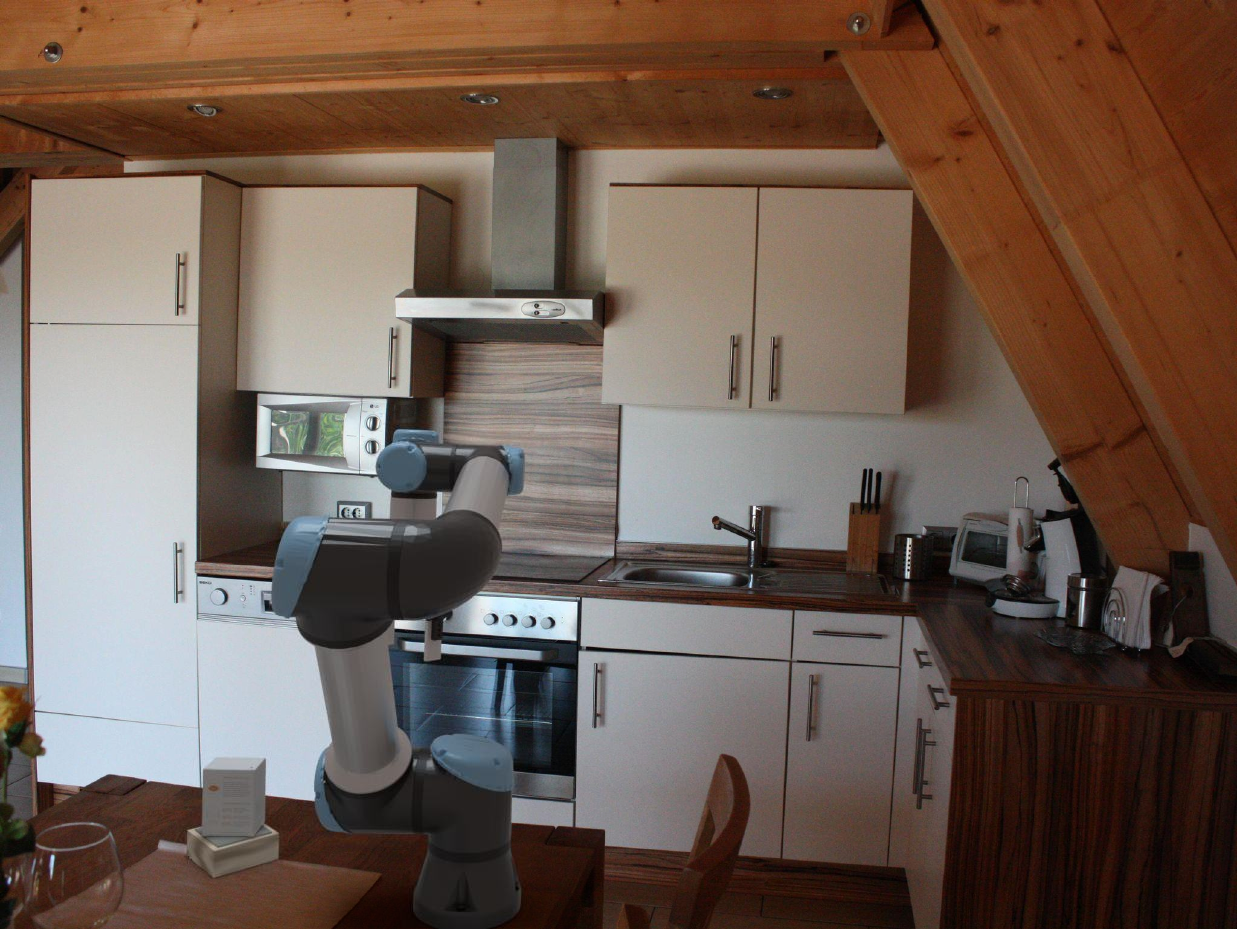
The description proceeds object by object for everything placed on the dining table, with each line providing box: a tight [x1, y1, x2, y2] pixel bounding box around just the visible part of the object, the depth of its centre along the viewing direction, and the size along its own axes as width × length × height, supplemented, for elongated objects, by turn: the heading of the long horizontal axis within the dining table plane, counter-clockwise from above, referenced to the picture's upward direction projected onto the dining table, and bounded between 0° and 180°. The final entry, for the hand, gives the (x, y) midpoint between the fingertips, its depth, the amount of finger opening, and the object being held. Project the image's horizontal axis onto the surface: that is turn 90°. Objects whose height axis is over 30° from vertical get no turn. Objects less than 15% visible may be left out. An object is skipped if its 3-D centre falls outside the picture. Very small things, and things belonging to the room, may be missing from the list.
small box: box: [201, 756, 267, 837], centre depth 149 cm, size 8×6×10 cm
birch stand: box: [186, 823, 280, 879], centre depth 149 cm, size 10×10×4 cm
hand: (408, 652), depth 159 cm, fingers open, 13 cm apart
